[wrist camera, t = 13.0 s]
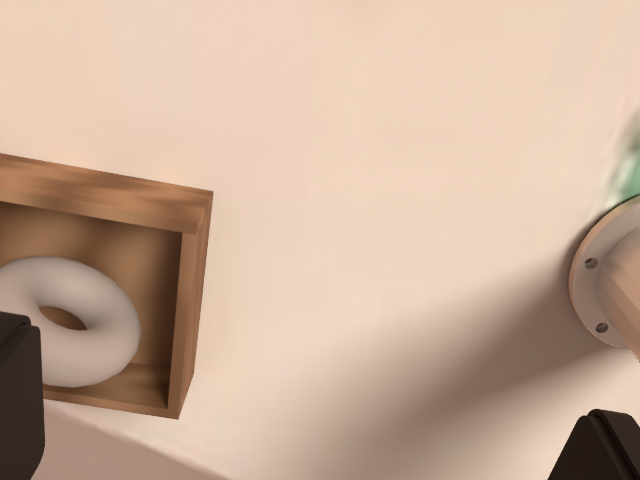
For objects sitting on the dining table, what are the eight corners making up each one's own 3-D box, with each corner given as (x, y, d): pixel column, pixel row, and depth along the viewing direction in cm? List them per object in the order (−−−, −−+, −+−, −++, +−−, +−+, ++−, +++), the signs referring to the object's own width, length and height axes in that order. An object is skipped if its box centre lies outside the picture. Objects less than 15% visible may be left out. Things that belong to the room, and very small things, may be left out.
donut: (167, 295, 42) (121, 390, 33) (146, 328, 43) (95, 427, 34) (35, 222, 39) (-54, 303, 30) (17, 259, 41) (-74, 347, 32)
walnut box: (213, 191, 39) (197, 223, 34) (193, 373, 46) (178, 419, 41) (-25, 148, 38) (-74, 175, 33) (-9, 341, 45) (-47, 384, 40)
